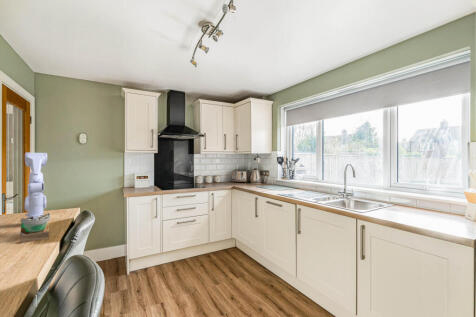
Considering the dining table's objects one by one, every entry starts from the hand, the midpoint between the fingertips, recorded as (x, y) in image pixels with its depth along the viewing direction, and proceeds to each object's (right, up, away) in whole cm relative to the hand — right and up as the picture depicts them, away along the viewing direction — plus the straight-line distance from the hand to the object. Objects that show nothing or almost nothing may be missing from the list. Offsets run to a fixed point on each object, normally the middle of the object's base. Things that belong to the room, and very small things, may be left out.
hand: (35, 230), depth 119 cm
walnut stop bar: (+8, -2, -8) cm, 11 cm away
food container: (+3, -2, -3) cm, 4 cm away
